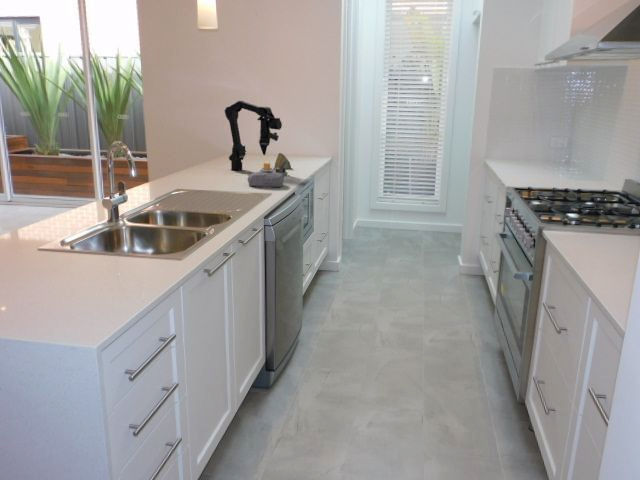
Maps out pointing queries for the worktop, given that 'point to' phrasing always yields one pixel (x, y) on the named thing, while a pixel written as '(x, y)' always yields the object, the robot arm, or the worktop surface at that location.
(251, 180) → the small grey backpack
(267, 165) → the orange cube
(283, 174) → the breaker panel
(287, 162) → the block
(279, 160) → the rock
